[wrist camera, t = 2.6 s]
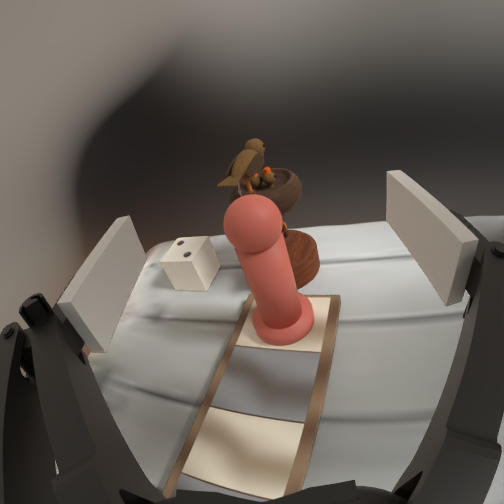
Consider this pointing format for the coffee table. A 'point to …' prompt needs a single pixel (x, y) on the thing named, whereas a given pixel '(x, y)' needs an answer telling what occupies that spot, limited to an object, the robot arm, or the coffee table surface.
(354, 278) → the coffee table surface
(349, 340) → the coffee table surface
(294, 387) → the board
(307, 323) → the pawn
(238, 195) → the music box
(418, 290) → the coffee table surface
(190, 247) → the die
